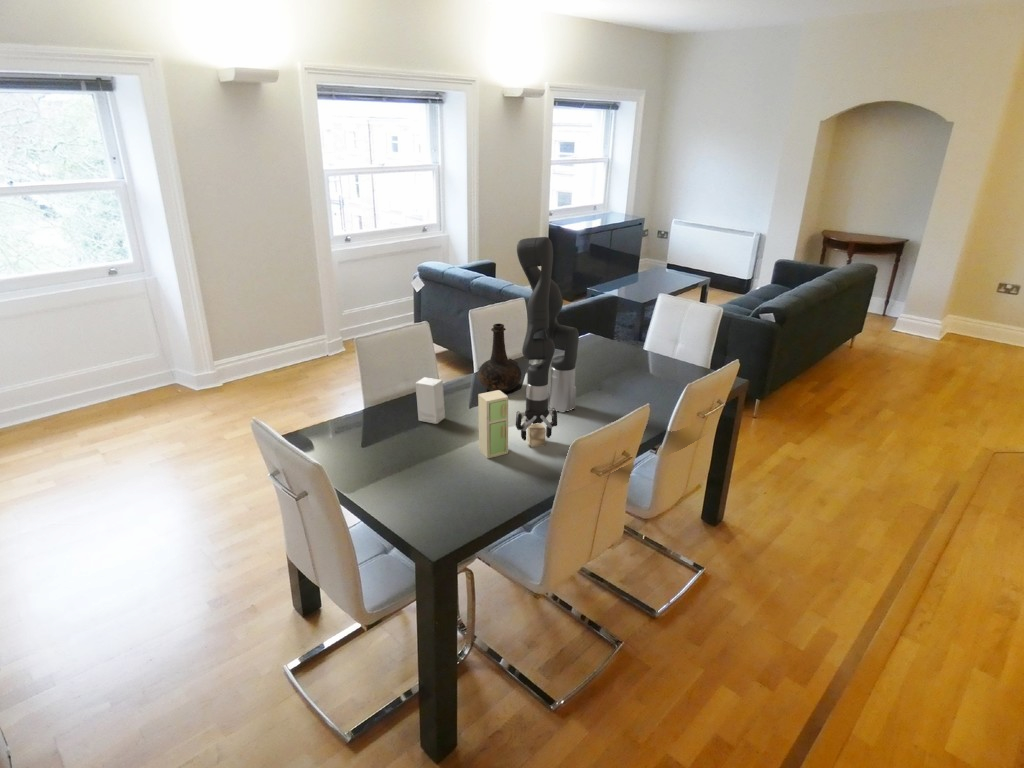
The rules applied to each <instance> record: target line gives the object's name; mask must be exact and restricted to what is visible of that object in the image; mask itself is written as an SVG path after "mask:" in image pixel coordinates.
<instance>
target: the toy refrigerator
mask: <svg viewBox="0 0 1024 768" xmlns="http://www.w3.org/2000/svg"><path fill="white" fill-rule="evenodd" d="M477 397H478V399H477V400H478V403H477V404H478V405H477V406H478V409H477V410H478V447H479V448H478V449H479V452H480V453H481V454H482V456H484V457H485V458H486V459H492V458H497V457H500V456H503V455H504V456H505V455H508V454H509V396H508V395H507V394H506V393H505V392H501V391H500V390H496V391H488V392H487V391H486V392H482V393H478V394H477Z"/></svg>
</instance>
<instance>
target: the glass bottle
mask: <svg viewBox="0 0 1024 768" xmlns="http://www.w3.org/2000/svg"><path fill="white" fill-rule="evenodd" d="M490 330H491V332H492V333H493V334H492V346H491V347H492V349H491V356H490V359H488V360H485V362H483V363H482V364H481V365H480V367H479V368H478V372H477V375H478V376H477V377H478V380H479V383H480V384H481V385H482V386H483V388H485V389H487V391H489V392H491V391H496V390H500V391H501V392H503V393H507V392H510V391H512V390H514V389H515V388H516V387H517V386H518V385H519V384H520V382H521V380H522V370H521V368H520V366H519V363H518V362H517V361H515V360H514V359H512V358H508V354H507V350H506V343H505V331H506V330H507V328H505V324H504V323H493V325H492V328H491V329H490Z"/></svg>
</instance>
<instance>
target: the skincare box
mask: <svg viewBox="0 0 1024 768" xmlns="http://www.w3.org/2000/svg"><path fill="white" fill-rule="evenodd" d="M443 384H444V383H443V379H439V378H431V377H426V376H424V377H422V378H421V379H419V380H417V381H416V382H415V393H416V403H417V404H416V405H417V406H416V407H417V416H418V421H419V422H424V423H430V424H433V425H437V424H439V423H441V422H442V421H443V420H444V419H445V418H446V413H445V397H444V385H443Z"/></svg>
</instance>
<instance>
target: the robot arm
mask: <svg viewBox="0 0 1024 768" xmlns="http://www.w3.org/2000/svg"><path fill="white" fill-rule="evenodd" d="M516 253H517V260H518V261H519V264H520V266H521V268H522V270H523V272H524V275H525V277H526V279H527V281H528V284H529V286H530V288H531V291H532V292H531V294H530V296H529V299H528V302H527V307H526V314H527V315H526V317H527V319H526V320H527V321H526V323H527V324H526V333H525V336H524V341H523V344H522V349H521V350H522V355H523V357H524V358H525V359H526V360H527V361H528V360H529V361H535V360H536V361H538V360H539V361H540V360H541V361H540V362H538V363H535V364H531V365H529V366H528V368H527V377H526V378H527V381H526V383H527V384H526V388H525V389H526V390H525V393H526V394H525V411H523V412H521V411H516V416H515V427H516V429H517V431H520V437H521V439H522V440H523V441H527V430H528V427H529V426H530V425H531V424H542V423H545V425H546V426H545V429H546V435H545V437H546V438H547V439H549V438H551V437H552V435H553V434H552V433H553V432H552V431H553V427H557V426H558V412H557V411H567V410H570V409H572V408H575V409H576V397H577V386H576V385H575V383H576V382H575V381H576V363H577V359H578V350H579V348H578V347H579V341H580V340H579V339H580V336H579V335H580V334H579V330H578V328H576V327H573V326H568V325H563V324H560V323H559V322H558V316H559V314H560V313H561V312H562V311H561V310H562V308H563V306H564V299H563V295H562V294H561V289H560V287H559V285H558V284H557V283H556V282H555V280H553V279H552V272H553V263H554V247H553V243H552V240H551V239H550V238H549V237H547V236H540V237H539V236H538V237H530V238H529V237H528V238H522V239H520V240H519V241H518V242H517V244H516ZM542 331H544V332H545V337H535V338H534V336H535V334H536V333H539V332H542ZM555 350H560V351H564V354H563V355H559V356H556V357H554V355H555ZM549 372H550V373H549ZM549 374H550V389H549ZM549 392H550V393H549ZM550 408H551V409H550ZM556 410H557V411H556ZM549 415H550V416H551V421H549V420H548V419H547V417H548V416H549ZM524 417H525V418H524ZM523 419H524V420H523ZM522 420H523V423H522Z"/></svg>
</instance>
